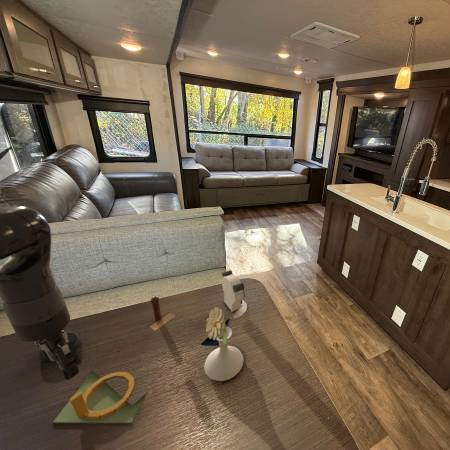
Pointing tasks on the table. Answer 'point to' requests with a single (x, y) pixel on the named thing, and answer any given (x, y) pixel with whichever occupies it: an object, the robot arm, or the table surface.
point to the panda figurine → (233, 293)
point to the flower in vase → (221, 350)
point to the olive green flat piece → (100, 405)
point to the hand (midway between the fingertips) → (62, 366)
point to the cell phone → (210, 341)
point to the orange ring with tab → (81, 401)
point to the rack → (159, 315)
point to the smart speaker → (71, 337)
